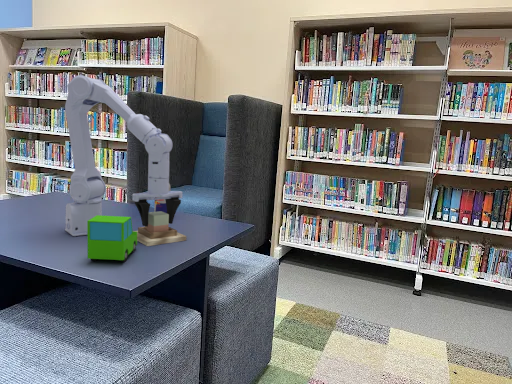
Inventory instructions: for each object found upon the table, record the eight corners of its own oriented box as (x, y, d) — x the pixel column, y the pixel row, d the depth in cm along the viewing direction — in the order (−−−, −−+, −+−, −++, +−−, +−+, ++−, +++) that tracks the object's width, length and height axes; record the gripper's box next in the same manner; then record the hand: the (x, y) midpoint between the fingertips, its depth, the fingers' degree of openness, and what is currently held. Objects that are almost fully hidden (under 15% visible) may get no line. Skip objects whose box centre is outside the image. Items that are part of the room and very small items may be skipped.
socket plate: (147, 246, 109) (147, 236, 109) (128, 235, 118) (128, 226, 118) (186, 240, 117) (186, 231, 117) (166, 231, 126) (166, 222, 126)
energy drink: (150, 217, 144) (151, 183, 142) (161, 214, 148) (161, 182, 146) (162, 219, 141) (163, 185, 139) (172, 217, 146) (173, 183, 144)
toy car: (142, 248, 107) (142, 211, 106) (127, 265, 94) (128, 222, 93) (102, 246, 107) (102, 209, 105) (83, 263, 94) (82, 220, 92)
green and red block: (153, 236, 114) (154, 215, 114) (146, 233, 118) (146, 212, 117) (168, 234, 117) (168, 214, 116) (160, 231, 121) (161, 211, 120)
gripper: (140, 180, 107) (139, 230, 109) (188, 178, 117) (187, 224, 119) (129, 176, 113) (128, 224, 115) (176, 175, 122) (174, 219, 124)
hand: (157, 224), depth 117 cm, fingers open, 7 cm apart
